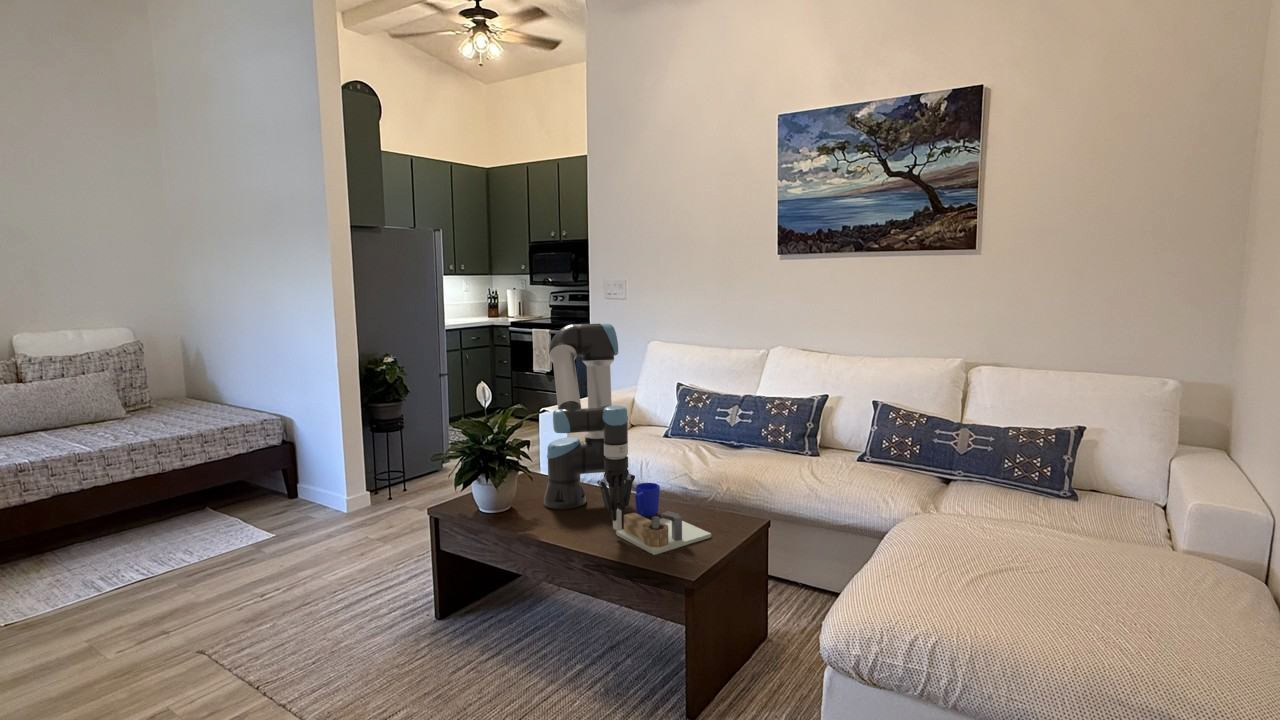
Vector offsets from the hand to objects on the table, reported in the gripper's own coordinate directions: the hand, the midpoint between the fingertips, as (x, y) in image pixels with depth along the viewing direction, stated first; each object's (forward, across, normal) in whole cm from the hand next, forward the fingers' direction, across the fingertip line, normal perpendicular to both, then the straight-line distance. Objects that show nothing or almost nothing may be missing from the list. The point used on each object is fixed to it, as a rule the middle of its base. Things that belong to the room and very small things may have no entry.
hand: (617, 529), depth 218 cm
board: (+3, +13, -7) cm, 15 cm away
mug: (+3, +19, +11) cm, 22 cm away
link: (+2, +6, -7) cm, 9 cm away
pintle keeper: (+3, +10, -12) cm, 16 cm away
